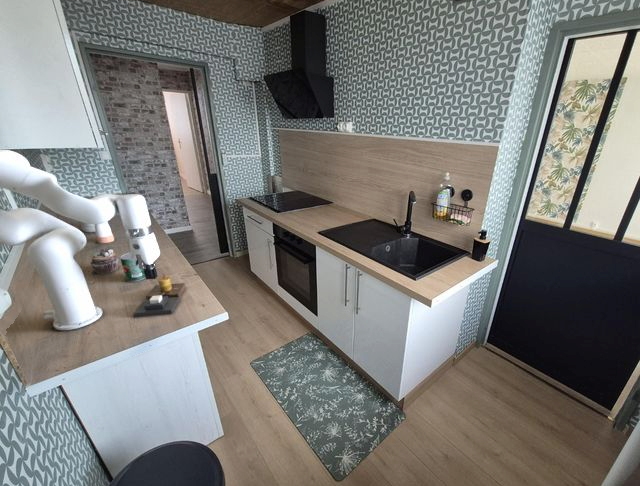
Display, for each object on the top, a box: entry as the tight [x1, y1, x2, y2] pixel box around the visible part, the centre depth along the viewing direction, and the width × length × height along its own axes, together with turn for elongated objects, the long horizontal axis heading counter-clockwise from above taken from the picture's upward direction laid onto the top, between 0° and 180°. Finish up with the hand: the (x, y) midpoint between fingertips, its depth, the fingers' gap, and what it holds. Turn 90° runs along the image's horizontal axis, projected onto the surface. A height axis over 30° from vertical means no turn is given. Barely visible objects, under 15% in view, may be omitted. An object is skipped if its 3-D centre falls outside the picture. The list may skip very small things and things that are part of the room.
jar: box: [78, 221, 109, 233], centre depth 179 cm, size 13×13×18 cm
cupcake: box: [90, 248, 119, 275], centre depth 134 cm, size 10×10×10 cm
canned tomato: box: [119, 252, 146, 283], centre depth 129 cm, size 8×8×11 cm
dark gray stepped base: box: [133, 296, 181, 318], centre depth 110 cm, size 12×9×4 cm
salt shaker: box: [94, 221, 115, 244], centre depth 163 cm, size 7×7×19 cm
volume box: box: [145, 282, 187, 300], centre depth 120 cm, size 11×9×3 cm
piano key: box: [149, 295, 162, 304], centre depth 110 cm, size 3×3×2 cm
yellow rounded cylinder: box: [157, 275, 172, 292], centre depth 118 cm, size 4×4×5 cm
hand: (152, 277), depth 106 cm, fingers closed
